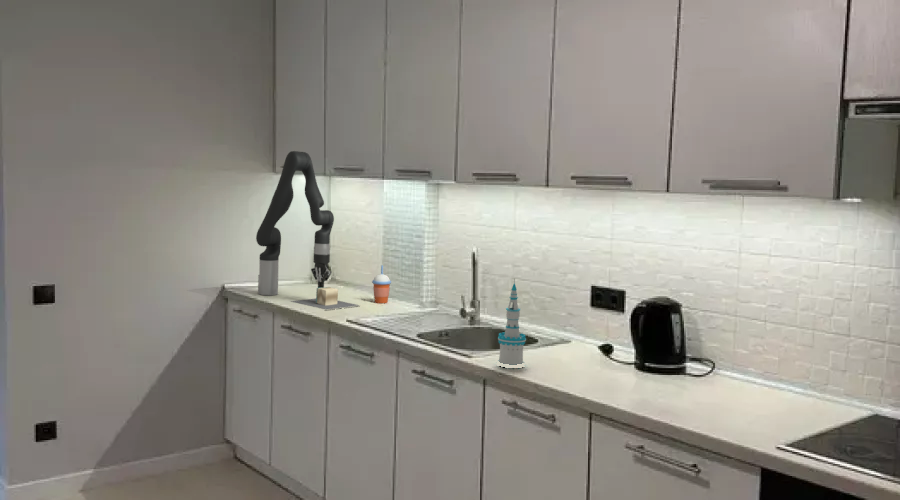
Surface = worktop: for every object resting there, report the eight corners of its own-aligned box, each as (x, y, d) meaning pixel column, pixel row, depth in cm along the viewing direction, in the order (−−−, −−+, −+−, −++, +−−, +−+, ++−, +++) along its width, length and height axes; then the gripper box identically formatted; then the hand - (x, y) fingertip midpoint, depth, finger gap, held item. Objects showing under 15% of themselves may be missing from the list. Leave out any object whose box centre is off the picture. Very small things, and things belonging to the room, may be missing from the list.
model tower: (508, 370, 287) (512, 280, 284) (490, 363, 295) (493, 276, 292) (531, 367, 293) (535, 279, 290) (513, 360, 301) (517, 275, 298)
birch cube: (316, 288, 401) (326, 290, 396) (328, 286, 406) (337, 289, 401) (316, 302, 402) (325, 305, 397) (327, 301, 407) (337, 304, 402)
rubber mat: (289, 302, 405) (289, 301, 405) (323, 298, 420) (323, 297, 420) (325, 310, 387) (325, 309, 387) (359, 306, 401) (359, 305, 401)
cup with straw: (382, 304, 409) (383, 267, 407) (367, 302, 414) (368, 265, 412) (394, 302, 416) (395, 265, 414) (379, 300, 421) (380, 263, 419)
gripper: (306, 251, 405) (305, 288, 407) (324, 254, 396) (323, 292, 398) (319, 251, 410) (318, 287, 412) (337, 254, 401) (335, 290, 403)
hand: (320, 289), depth 405 cm, fingers closed
